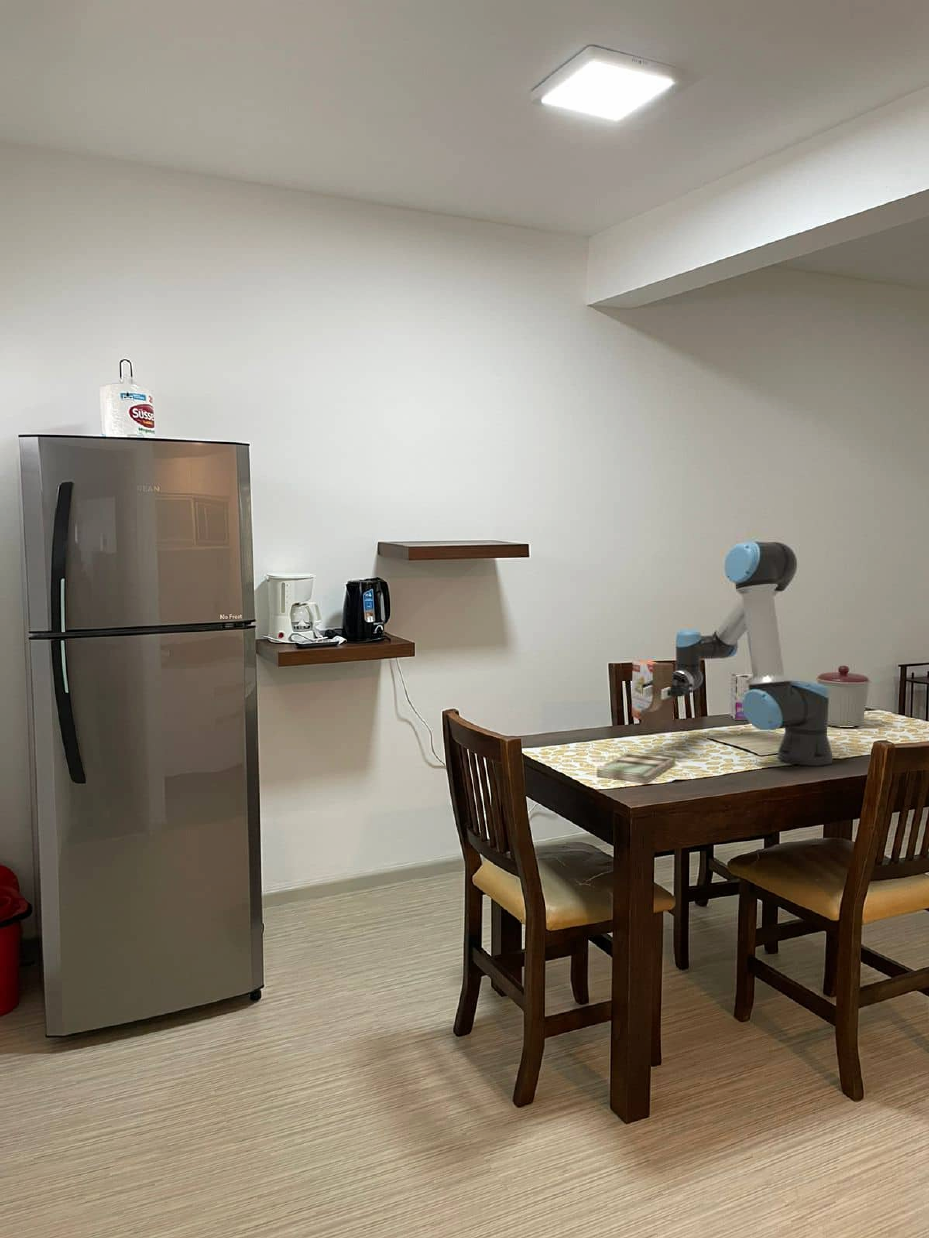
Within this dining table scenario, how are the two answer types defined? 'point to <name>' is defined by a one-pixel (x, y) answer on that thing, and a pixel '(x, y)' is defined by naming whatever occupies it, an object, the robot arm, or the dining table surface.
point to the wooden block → (660, 708)
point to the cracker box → (640, 686)
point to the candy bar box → (739, 693)
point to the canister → (845, 696)
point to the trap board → (636, 767)
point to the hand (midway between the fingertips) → (653, 693)
